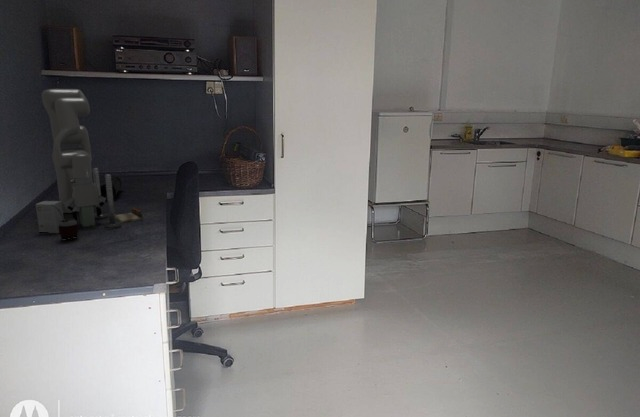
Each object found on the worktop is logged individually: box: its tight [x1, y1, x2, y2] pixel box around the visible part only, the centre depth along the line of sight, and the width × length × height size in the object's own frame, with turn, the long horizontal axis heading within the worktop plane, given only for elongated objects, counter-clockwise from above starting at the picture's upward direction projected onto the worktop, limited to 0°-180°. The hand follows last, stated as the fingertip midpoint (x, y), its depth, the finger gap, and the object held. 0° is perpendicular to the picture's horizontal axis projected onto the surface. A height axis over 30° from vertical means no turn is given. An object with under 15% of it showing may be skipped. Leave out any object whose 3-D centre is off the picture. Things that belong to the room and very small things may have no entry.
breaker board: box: [115, 207, 144, 224], centre depth 231 cm, size 10×12×4 cm
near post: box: [103, 173, 122, 229], centre depth 215 cm, size 7×7×24 cm
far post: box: [92, 167, 109, 220], centre depth 230 cm, size 7×7×24 cm
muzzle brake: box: [100, 174, 123, 201], centre depth 276 cm, size 10×28×10 cm, turn 16°
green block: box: [78, 206, 96, 227], centre depth 220 cm, size 5×5×9 cm
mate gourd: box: [51, 204, 79, 240], centre depth 198 cm, size 8×8×15 cm
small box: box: [35, 200, 65, 234], centre depth 208 cm, size 8×6×13 cm
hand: (87, 218), depth 220 cm, fingers open, 9 cm apart
